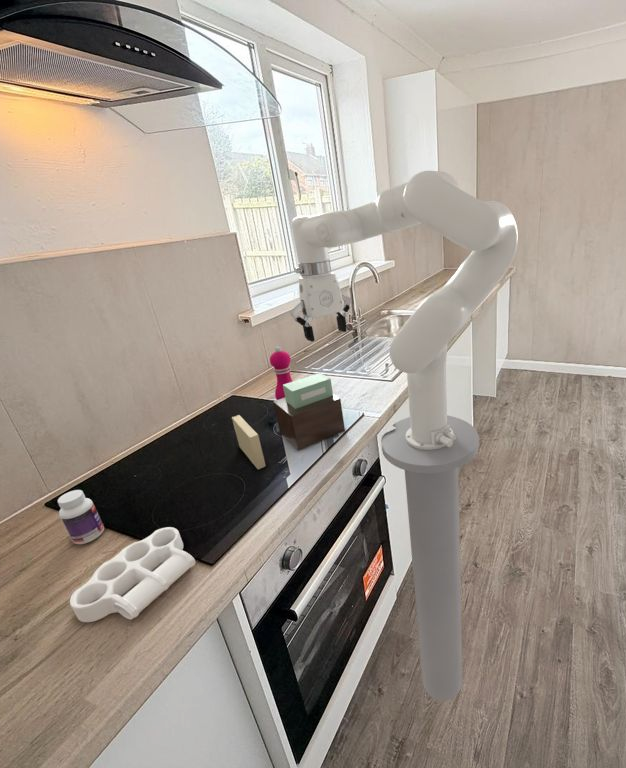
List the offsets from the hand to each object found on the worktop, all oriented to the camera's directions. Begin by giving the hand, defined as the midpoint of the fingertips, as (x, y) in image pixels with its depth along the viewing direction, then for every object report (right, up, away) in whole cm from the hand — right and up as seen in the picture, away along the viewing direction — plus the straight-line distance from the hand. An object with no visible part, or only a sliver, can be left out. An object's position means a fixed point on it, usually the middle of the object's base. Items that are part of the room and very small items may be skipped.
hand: (327, 335), depth 109 cm
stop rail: (-18, -31, -4) cm, 36 cm away
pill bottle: (-43, -43, -26) cm, 66 cm away
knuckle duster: (-26, -47, -37) cm, 65 cm away
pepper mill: (-16, -20, +22) cm, 33 cm away
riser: (-5, -26, +6) cm, 27 cm away
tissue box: (-5, -17, +2) cm, 18 cm away
